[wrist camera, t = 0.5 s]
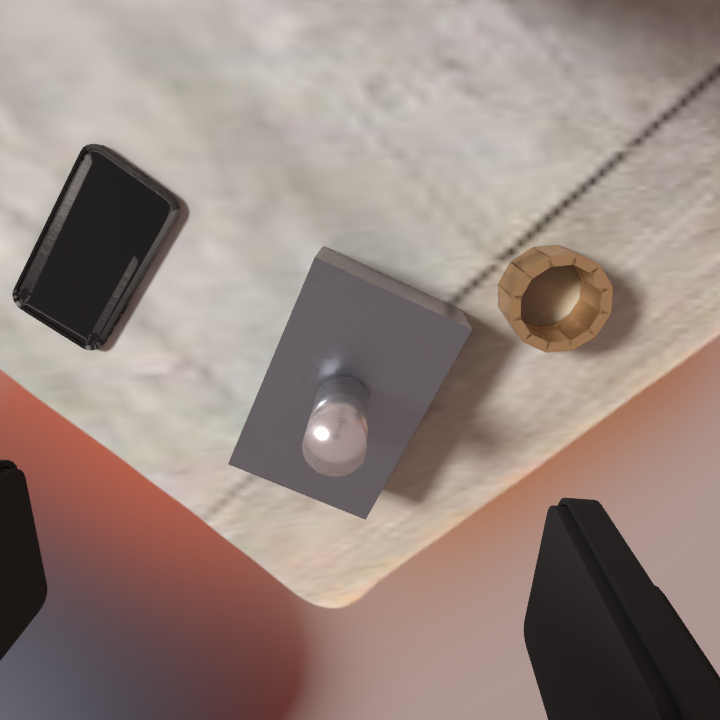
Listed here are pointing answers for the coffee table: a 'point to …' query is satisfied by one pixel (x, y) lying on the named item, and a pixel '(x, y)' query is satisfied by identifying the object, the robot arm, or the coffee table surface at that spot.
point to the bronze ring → (582, 318)
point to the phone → (95, 247)
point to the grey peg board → (348, 383)
